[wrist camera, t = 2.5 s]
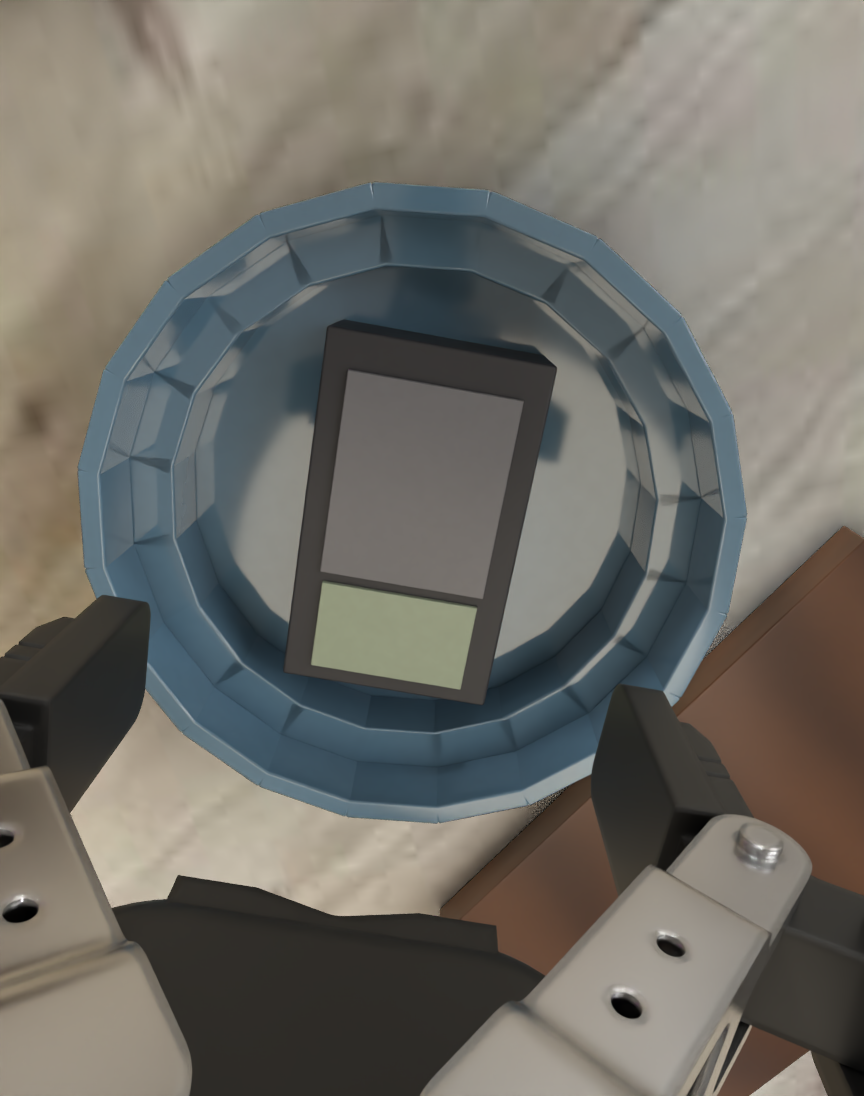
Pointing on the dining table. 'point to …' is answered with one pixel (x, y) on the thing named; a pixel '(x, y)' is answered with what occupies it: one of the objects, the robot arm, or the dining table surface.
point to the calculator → (414, 509)
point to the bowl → (281, 479)
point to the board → (751, 760)
